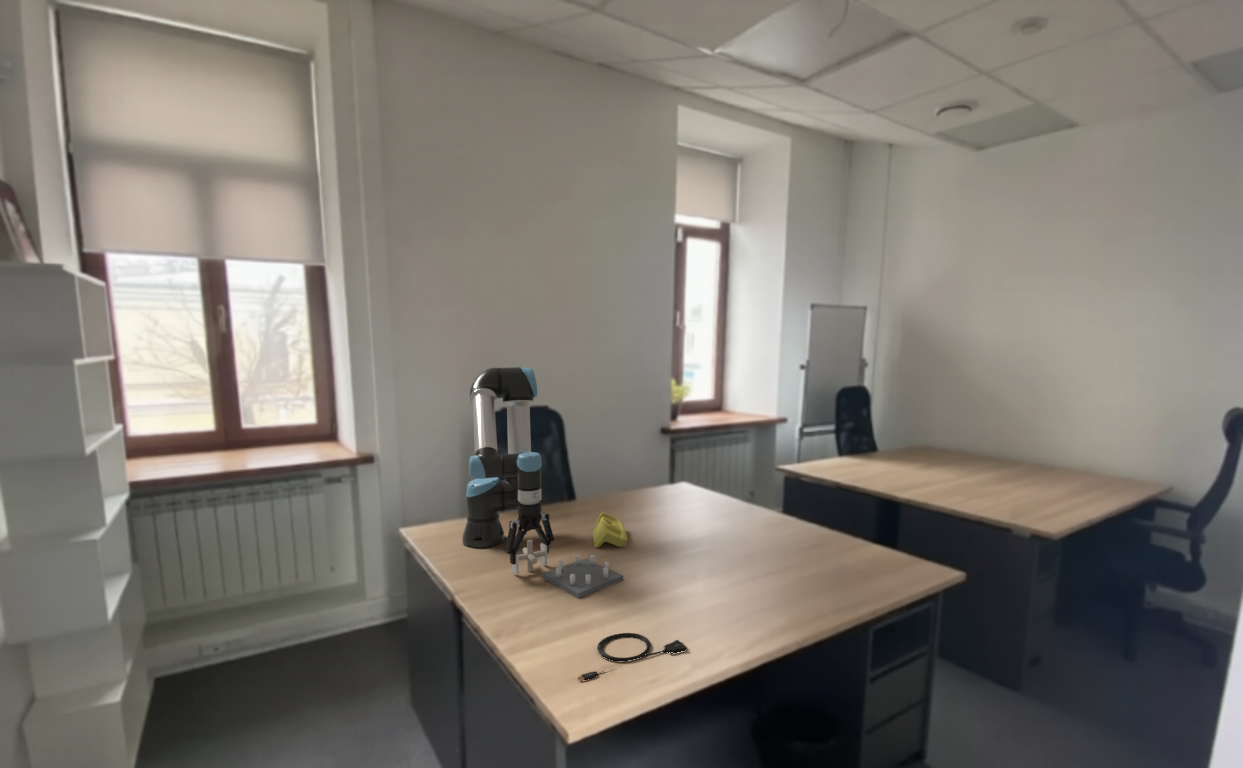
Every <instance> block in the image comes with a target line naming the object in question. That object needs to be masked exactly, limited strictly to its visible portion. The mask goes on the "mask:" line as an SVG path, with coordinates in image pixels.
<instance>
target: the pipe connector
mask: <svg viewBox="0 0 1243 768" xmlns="http://www.w3.org/2000/svg"><path fill="white" fill-rule="evenodd" d="M533 542H534V540H533V539H528V540H526V547H523V548H522V553H521V554H519V562H520V561H524V560H525V561H526V569H527V570H526V571H527V572H528V573H531V571H532V572H533V571H534V565H536V564H537V563H538V558H541V557H542V556H545V555H546V553H545V550H543V551H541V550H538V551H534V550H533V549H534V548H533V547H534V546H533V545H534V543H533Z"/></svg>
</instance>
